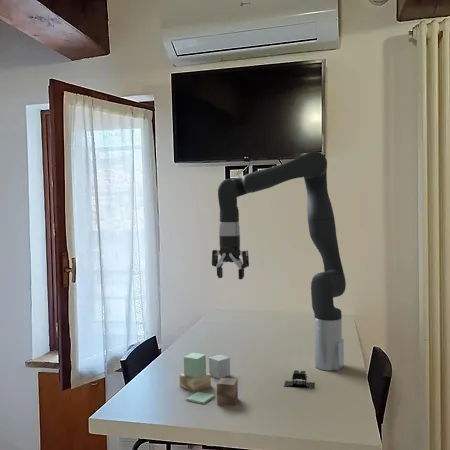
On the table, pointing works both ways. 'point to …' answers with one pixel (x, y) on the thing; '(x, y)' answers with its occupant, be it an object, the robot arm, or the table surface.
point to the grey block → (219, 366)
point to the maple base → (195, 382)
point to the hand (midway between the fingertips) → (230, 278)
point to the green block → (195, 365)
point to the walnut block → (227, 391)
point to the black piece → (299, 383)
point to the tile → (200, 397)
